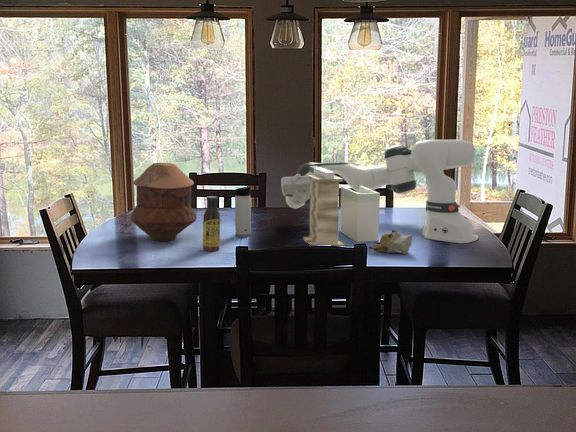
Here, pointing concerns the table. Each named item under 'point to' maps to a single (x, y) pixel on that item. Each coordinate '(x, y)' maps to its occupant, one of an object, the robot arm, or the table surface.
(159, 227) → the pottery vessel
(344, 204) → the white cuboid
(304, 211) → the table surface
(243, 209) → the travel mug
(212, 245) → the sauce bottle
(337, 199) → the birch pedestal
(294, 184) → the robot arm
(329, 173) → the aluminium bar
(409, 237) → the ceramic sculpture
